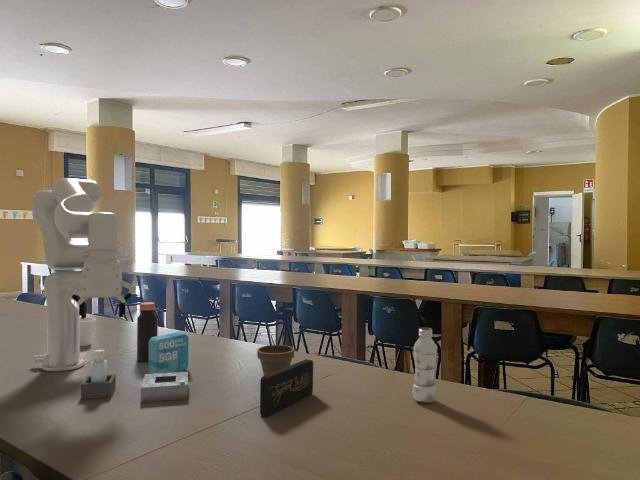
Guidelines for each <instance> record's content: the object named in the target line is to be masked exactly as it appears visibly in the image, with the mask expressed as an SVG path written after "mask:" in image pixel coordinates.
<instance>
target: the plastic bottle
mask: <svg viewBox="0 0 640 480" xmlns="http://www.w3.org/2000/svg"><path fill="white" fill-rule="evenodd" d="M433 335H434V334H433V329H432V328H430V327H419V328H418V336H419V337H418V339H417V340H416V341H415V342H414V345H413V356H414V367H415V368H414V371H415V372H414V380H413V385H412V396H413V398H414V401H416V402H418V403H424V404H426V403H428V404H429V403H432V402H434V401H435V400H436V398H437V388H436V386H437V385H436V379H435V368H436V359H437V353H438V347H437V345H436V343H435V341H434V339H433V338H432V337H433Z"/></svg>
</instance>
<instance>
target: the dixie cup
mask: <svg viewBox="0 0 640 480" xmlns="http://www.w3.org/2000/svg"><path fill="white" fill-rule="evenodd" d="M95 323H96V317H92V316H91V317H89V316H86V318H84V319H81V317H80V347H86V346H87V347H88V346H91V345H92V344H93V337H94V330H95Z"/></svg>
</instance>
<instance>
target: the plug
mask: <svg viewBox="0 0 640 480" xmlns="http://www.w3.org/2000/svg"><path fill="white" fill-rule="evenodd" d="M105 355H106V354H105V349H95V350H93V360H92V361H91V362H90V376H91V383H98V382H107V375H108V371H107V369H108V367H107V366H108V365H107V364H108V360H107V359H105V357H106V356H105Z"/></svg>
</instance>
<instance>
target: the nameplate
mask: <svg viewBox="0 0 640 480" xmlns="http://www.w3.org/2000/svg"><path fill="white" fill-rule="evenodd" d="M259 384H260V385H259V386H260V387H259V389H260V394H259V395H260V396H259V414H260V416H263V417H266V418H269V417H271V416H273V415H275V414H276V413H278V412H280V411H282V410H284V409H286V408H287V409H288V407H290V406H293V405H294V404H296V403H298V402H300V401H303V400H304V399H306V398H308V397H310V396H312V395H313V392H314V361H313V360H311V359H304V360H301V361H298V362H296V363H293V364H290V366H288V367H285V368H283V369H280V370H277V371H275V372H272V373H270V374H267V375H264V374H263V376H261V378H260V383H259Z"/></svg>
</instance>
